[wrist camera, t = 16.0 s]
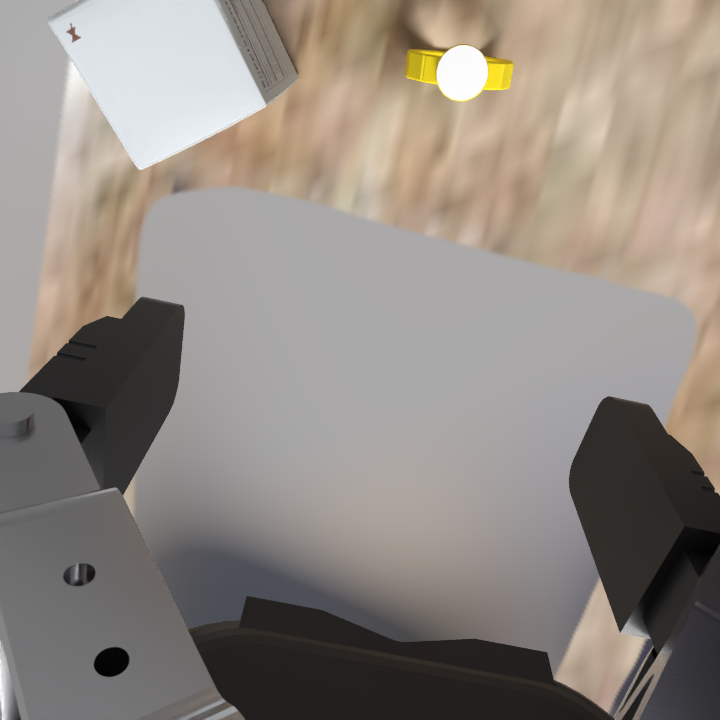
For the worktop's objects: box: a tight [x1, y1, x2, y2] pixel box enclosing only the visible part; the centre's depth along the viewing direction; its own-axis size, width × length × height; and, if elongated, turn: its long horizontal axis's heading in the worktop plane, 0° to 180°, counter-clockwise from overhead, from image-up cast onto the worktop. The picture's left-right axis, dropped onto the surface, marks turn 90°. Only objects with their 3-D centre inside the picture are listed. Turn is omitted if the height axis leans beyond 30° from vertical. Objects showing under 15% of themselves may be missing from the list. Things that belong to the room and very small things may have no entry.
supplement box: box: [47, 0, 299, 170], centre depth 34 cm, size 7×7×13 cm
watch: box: [405, 44, 514, 101], centre depth 37 cm, size 6×3×6 cm, turn 85°
